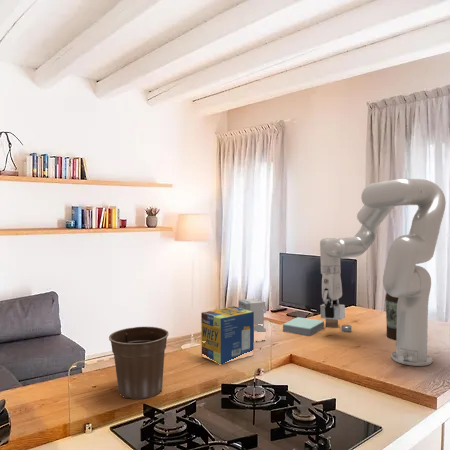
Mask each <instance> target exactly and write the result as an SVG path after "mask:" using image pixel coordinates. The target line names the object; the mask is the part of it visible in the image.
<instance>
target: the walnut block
mask: <svg viewBox="0 0 450 450" xmlns="http://www.w3.org/2000/svg"><path fill="white" fill-rule="evenodd" d="M325 328H331V329H333V328H334V329H338V328H339V320H335V319H325Z"/></svg>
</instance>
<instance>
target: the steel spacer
mask: <svg viewBox="0 0 450 450" xmlns="http://www.w3.org/2000/svg"><path fill="white" fill-rule="evenodd" d="M341 332H342V333H352V332H353V327H352V325H350V324H342V325H341Z"/></svg>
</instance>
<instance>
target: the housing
mask: <svg viewBox="0 0 450 450" xmlns="http://www.w3.org/2000/svg"><path fill="white" fill-rule="evenodd" d="M324 305H325V304H324V303H322V304H320V305H319V306H320V319H325V320H326V319H335V320H338V321H341V320H343V319H345V318H346V307H345V306H346V305H345V304H340V303H339V304H332V308H333V314H334V317H333V318H326V317H325V306H324Z"/></svg>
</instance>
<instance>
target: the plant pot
mask: <svg viewBox="0 0 450 450" xmlns="http://www.w3.org/2000/svg"><path fill="white" fill-rule="evenodd" d="M168 337H169V331H168V330H166V329H164V328H162V327H156V326H135V327H128V328H122V329H119V330H116V331H114V332H112V333H111V334H109V337H108V340H109V341H110V343H111V344H110V345H111V351H112V353H113V358H114V359H113V360H114V365H115V375H116V383H117V390H118V391H119V392H118V394H119V393H120V394H121V395H122V396H124V397H126V398H125V399H128V398H131V399H132V400H146V399H150V398H151V397H152V398H153V397H155V396H157V395H158V394H159V393H160V392H162V390H163V381H164V379H163V377H164V365H165V354H166V353H165V351H166V348H167V341H168V340H167V339H168ZM120 394H119V395H120ZM122 396H121V397H122ZM124 397H123V398H124Z"/></svg>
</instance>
